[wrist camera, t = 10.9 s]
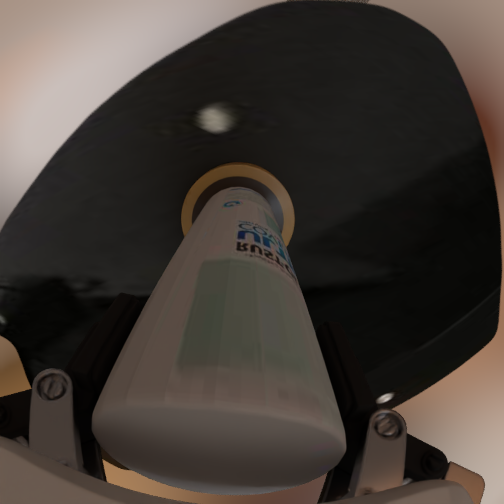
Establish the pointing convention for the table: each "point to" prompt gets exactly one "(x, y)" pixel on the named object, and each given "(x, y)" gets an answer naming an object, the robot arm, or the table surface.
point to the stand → (246, 178)
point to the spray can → (224, 366)
